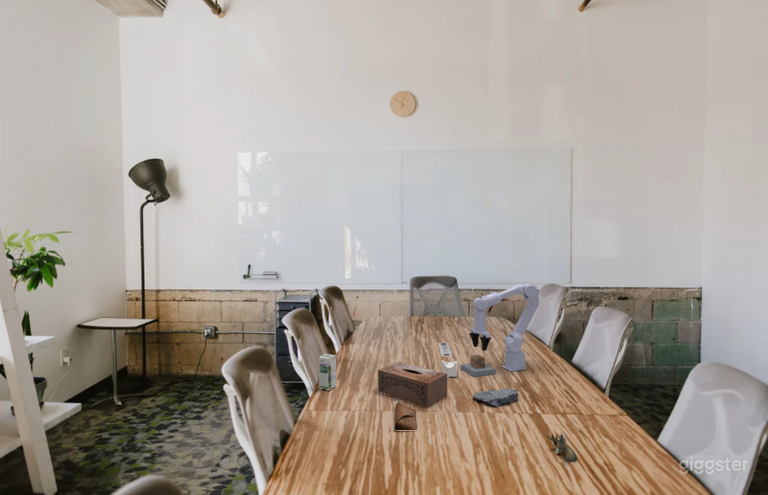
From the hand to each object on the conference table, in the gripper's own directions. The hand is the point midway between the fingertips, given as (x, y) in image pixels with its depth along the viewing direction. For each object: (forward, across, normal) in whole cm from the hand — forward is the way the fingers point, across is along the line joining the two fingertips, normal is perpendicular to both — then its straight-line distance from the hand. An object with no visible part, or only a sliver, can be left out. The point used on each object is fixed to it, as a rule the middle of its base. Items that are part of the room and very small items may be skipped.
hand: (479, 348), depth 209 cm
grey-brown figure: (+10, +78, -25) cm, 83 cm away
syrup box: (+10, -3, -78) cm, 79 cm away
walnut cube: (+7, +4, -4) cm, 10 cm away
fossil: (+10, +37, -18) cm, 43 cm away
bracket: (+10, +1, -18) cm, 21 cm away
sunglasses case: (+10, +39, -59) cm, 71 cm away
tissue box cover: (+10, +18, -47) cm, 51 cm away
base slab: (+10, +4, -4) cm, 12 cm away
